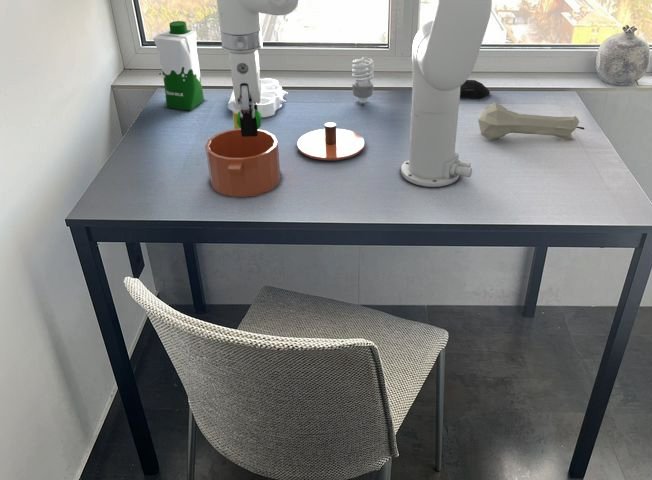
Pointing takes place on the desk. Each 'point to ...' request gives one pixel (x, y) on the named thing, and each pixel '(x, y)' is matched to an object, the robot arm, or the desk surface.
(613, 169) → the desk surface
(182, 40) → the milk carton
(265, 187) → the pot
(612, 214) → the desk surface
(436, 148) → the robot arm
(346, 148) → the pot lid
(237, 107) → the supplement bottle
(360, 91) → the light bulb
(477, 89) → the gaming mouse
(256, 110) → the polyhedron
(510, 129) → the faceted club
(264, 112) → the white muffin tray
